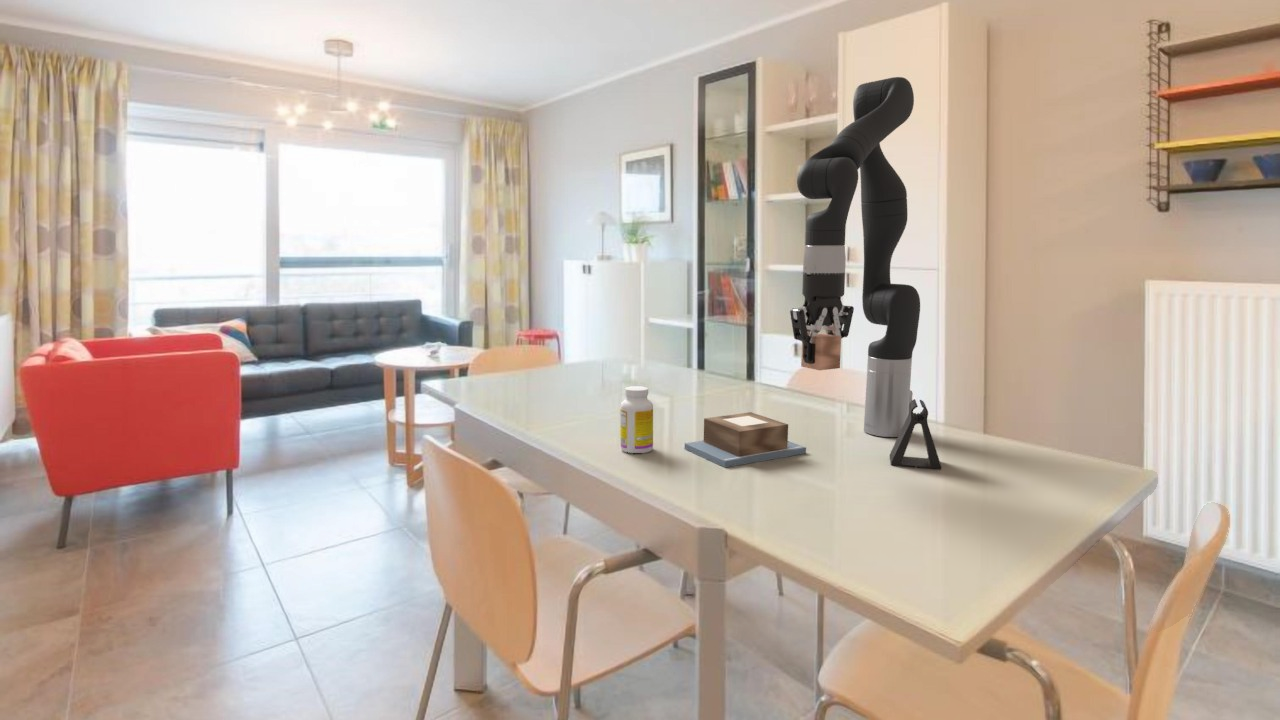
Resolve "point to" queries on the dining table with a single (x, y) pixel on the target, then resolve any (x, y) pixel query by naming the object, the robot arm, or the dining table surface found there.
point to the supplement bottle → (636, 421)
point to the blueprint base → (743, 440)
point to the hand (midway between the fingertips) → (820, 361)
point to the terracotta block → (825, 352)
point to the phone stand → (904, 437)
